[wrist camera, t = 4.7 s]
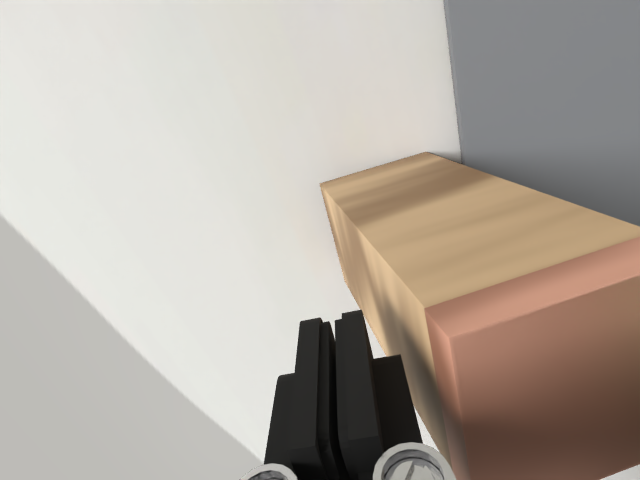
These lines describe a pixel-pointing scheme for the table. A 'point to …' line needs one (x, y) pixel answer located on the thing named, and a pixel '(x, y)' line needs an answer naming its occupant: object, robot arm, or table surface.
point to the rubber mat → (551, 96)
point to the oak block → (498, 315)
